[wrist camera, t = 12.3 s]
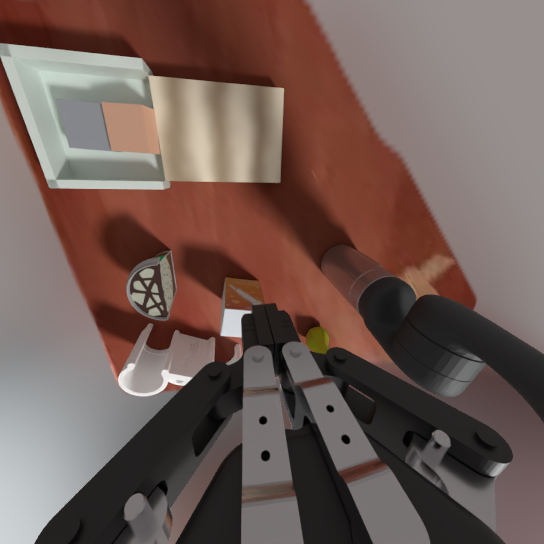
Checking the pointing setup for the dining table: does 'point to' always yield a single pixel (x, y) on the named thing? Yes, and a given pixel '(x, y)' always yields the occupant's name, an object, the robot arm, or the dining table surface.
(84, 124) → the tile
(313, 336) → the fruit
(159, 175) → the tray
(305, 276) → the dining table surface
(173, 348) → the bracket
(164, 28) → the dining table surface
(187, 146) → the beige slab
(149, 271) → the food container
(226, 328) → the small box
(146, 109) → the tile
